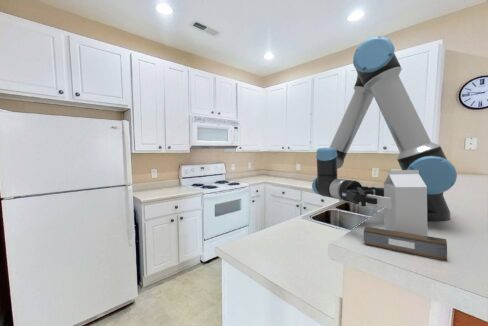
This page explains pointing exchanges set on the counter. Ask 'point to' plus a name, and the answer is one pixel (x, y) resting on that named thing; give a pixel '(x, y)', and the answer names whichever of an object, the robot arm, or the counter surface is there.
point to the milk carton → (406, 202)
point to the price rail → (407, 242)
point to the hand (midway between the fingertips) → (409, 200)
